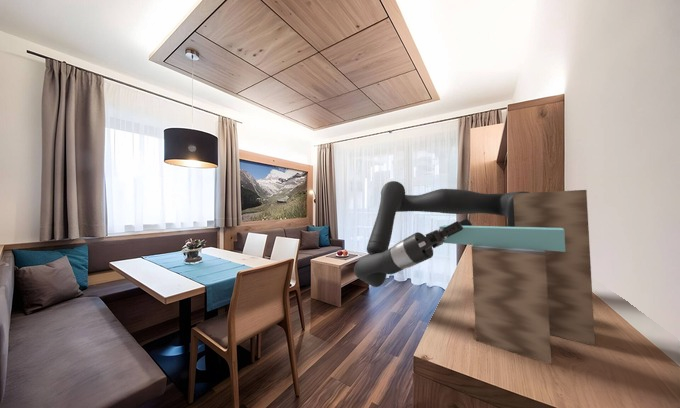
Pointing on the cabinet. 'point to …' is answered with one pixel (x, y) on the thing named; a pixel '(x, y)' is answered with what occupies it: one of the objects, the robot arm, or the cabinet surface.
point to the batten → (510, 237)
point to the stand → (564, 259)
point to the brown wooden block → (512, 300)
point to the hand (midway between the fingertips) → (465, 223)
